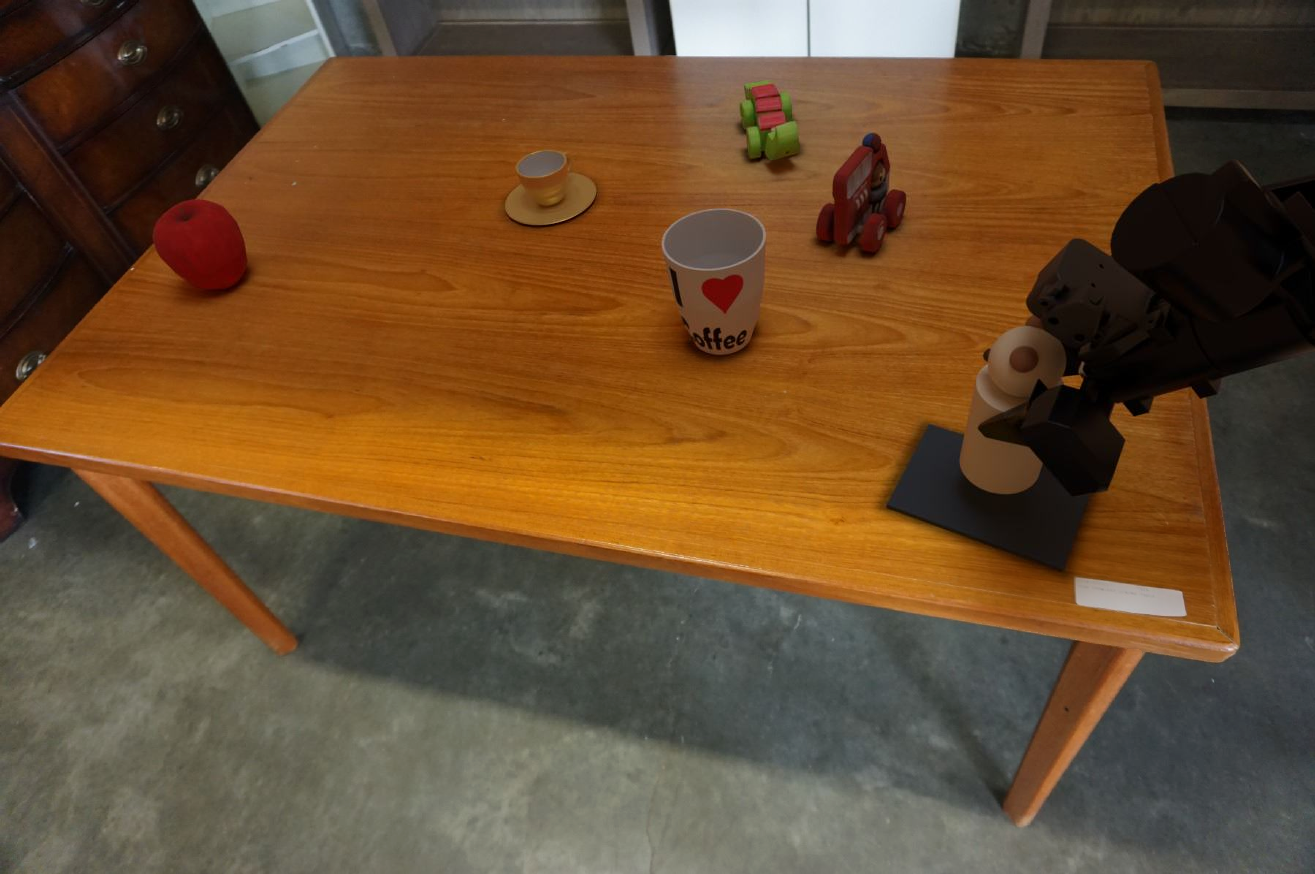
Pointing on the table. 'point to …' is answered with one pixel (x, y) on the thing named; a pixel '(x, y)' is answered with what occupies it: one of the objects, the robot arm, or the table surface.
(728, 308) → the cup
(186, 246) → the apple
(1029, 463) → the bear
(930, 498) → the mat
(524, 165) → the cup
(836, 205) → the toy fire truck
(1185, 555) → the table surface
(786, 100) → the toy crocodile
